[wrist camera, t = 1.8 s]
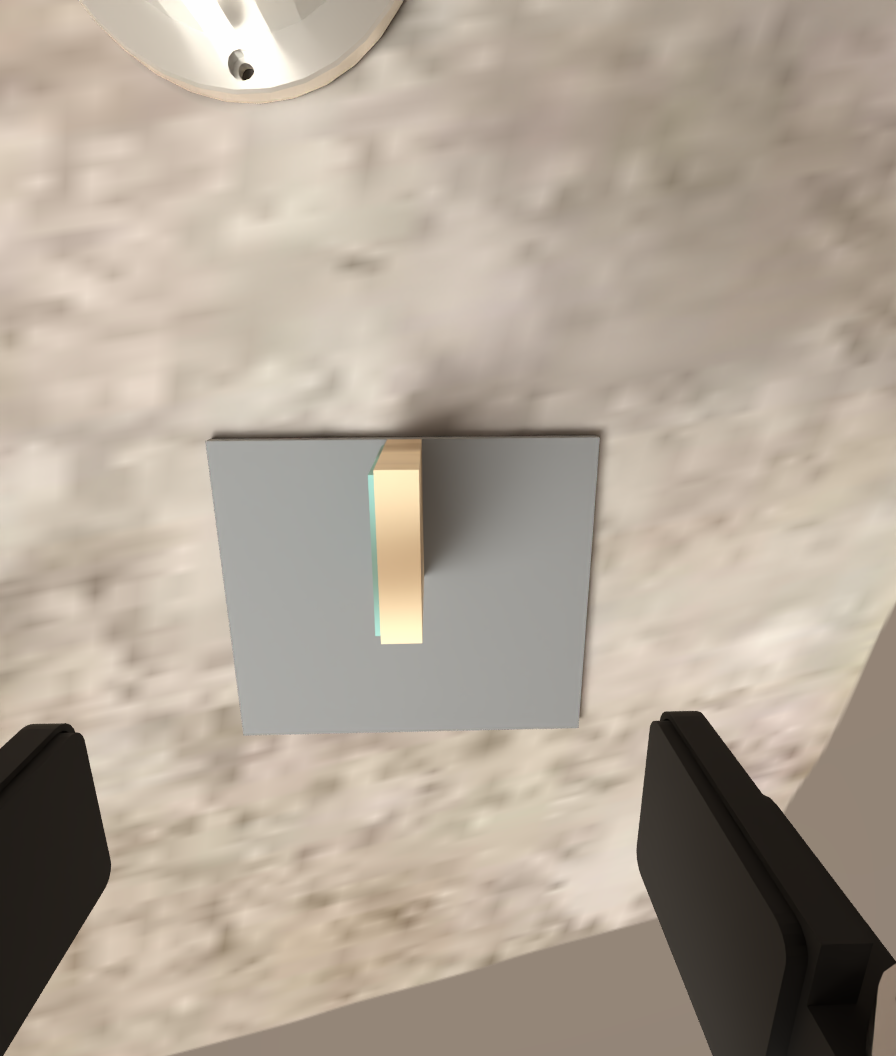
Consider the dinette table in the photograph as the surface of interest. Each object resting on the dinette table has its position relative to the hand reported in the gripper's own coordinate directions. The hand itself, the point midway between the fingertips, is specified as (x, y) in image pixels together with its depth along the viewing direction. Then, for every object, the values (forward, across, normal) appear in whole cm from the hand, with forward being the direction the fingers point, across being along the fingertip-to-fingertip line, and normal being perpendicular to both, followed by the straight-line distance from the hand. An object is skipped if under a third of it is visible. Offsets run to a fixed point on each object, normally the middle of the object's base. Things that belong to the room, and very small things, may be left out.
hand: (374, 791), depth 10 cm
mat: (+16, 0, +3) cm, 17 cm away
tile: (+16, 0, 0) cm, 16 cm away
